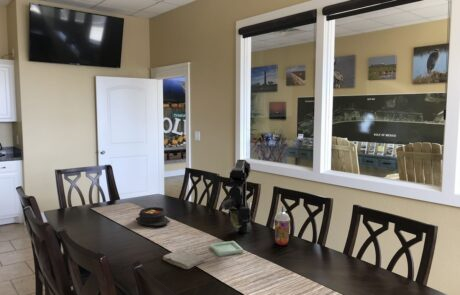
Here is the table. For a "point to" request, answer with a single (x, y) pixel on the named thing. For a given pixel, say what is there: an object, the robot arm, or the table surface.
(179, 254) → the washcloth
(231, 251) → the tray
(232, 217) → the cup
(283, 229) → the smoothie
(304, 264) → the table surface
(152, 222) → the casserole
